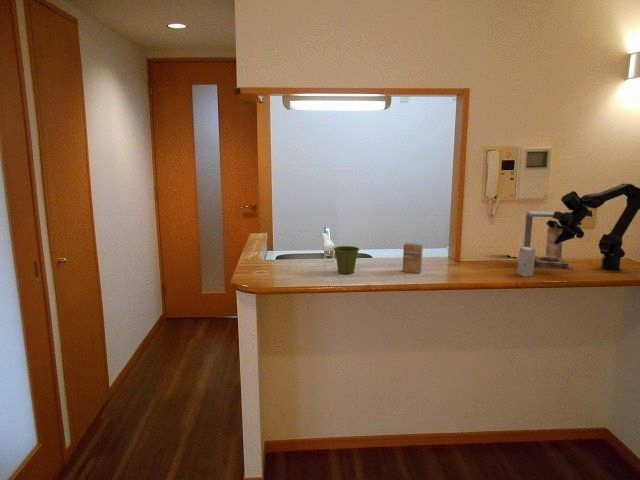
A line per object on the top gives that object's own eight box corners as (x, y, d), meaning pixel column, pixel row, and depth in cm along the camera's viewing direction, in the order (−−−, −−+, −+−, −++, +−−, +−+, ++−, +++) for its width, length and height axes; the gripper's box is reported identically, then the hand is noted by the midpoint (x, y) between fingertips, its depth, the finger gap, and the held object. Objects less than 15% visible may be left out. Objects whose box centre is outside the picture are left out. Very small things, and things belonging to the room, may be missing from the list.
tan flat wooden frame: (565, 261, 225) (566, 257, 224) (573, 269, 209) (574, 264, 209) (526, 259, 229) (526, 255, 229) (531, 267, 214) (532, 262, 214)
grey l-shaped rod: (546, 261, 225) (551, 211, 220) (551, 267, 214) (556, 214, 209) (521, 260, 228) (524, 210, 224) (524, 266, 217) (528, 213, 212)
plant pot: (329, 274, 204) (329, 250, 202) (338, 268, 215) (338, 245, 213) (354, 277, 200) (355, 252, 198) (362, 270, 211) (362, 247, 209)
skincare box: (516, 273, 204) (518, 247, 202) (525, 272, 205) (527, 246, 203) (524, 276, 198) (526, 249, 196) (533, 276, 199) (536, 249, 197)
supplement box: (402, 272, 207) (403, 244, 205) (404, 269, 212) (404, 242, 209) (420, 273, 204) (421, 245, 202) (421, 271, 209) (422, 243, 206)
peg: (554, 255, 208) (556, 227, 205) (561, 257, 203) (563, 228, 201) (545, 255, 207) (547, 227, 205) (552, 258, 203) (554, 229, 200)
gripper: (551, 202, 210) (528, 227, 211) (580, 207, 192) (555, 234, 193) (565, 218, 213) (542, 243, 214) (595, 224, 195) (570, 251, 195)
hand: (551, 242), depth 204 cm, fingers closed on peg, 4 cm apart
